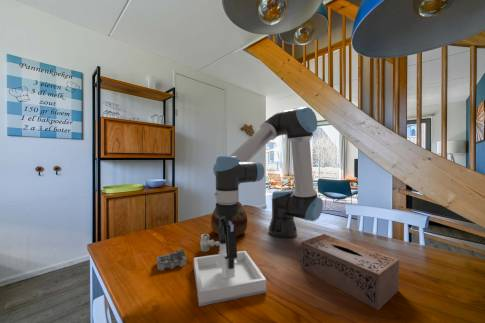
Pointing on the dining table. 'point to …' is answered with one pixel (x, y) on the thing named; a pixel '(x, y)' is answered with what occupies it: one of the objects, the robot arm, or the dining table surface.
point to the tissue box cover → (352, 268)
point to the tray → (223, 289)
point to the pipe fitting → (223, 262)
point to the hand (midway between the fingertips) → (226, 269)
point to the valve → (207, 243)
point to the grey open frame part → (172, 256)
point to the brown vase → (238, 219)
